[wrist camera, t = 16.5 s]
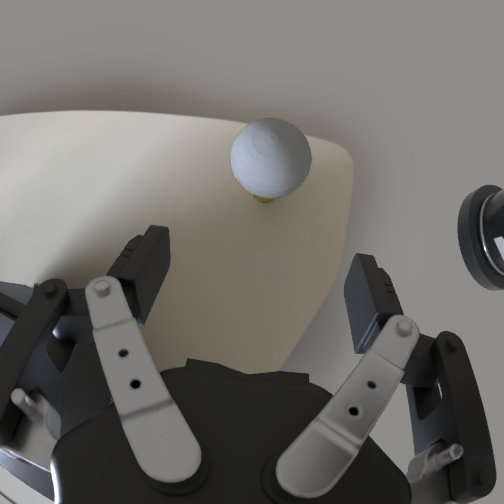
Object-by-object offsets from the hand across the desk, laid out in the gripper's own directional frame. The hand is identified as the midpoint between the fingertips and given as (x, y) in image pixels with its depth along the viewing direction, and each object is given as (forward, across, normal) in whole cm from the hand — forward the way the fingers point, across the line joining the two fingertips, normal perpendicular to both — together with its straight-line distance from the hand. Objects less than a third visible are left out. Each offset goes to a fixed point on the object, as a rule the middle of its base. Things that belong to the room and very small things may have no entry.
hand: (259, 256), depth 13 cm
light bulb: (+15, 0, +4) cm, 15 cm away
